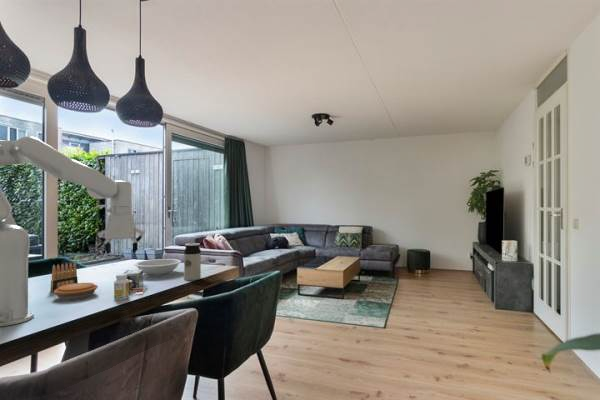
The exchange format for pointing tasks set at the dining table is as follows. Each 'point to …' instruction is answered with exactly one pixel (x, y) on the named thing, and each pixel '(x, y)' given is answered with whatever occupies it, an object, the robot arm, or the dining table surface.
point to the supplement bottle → (121, 287)
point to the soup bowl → (157, 266)
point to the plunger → (131, 283)
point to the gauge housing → (136, 279)
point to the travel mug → (192, 262)
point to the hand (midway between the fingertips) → (121, 252)
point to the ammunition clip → (63, 276)
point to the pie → (75, 291)
